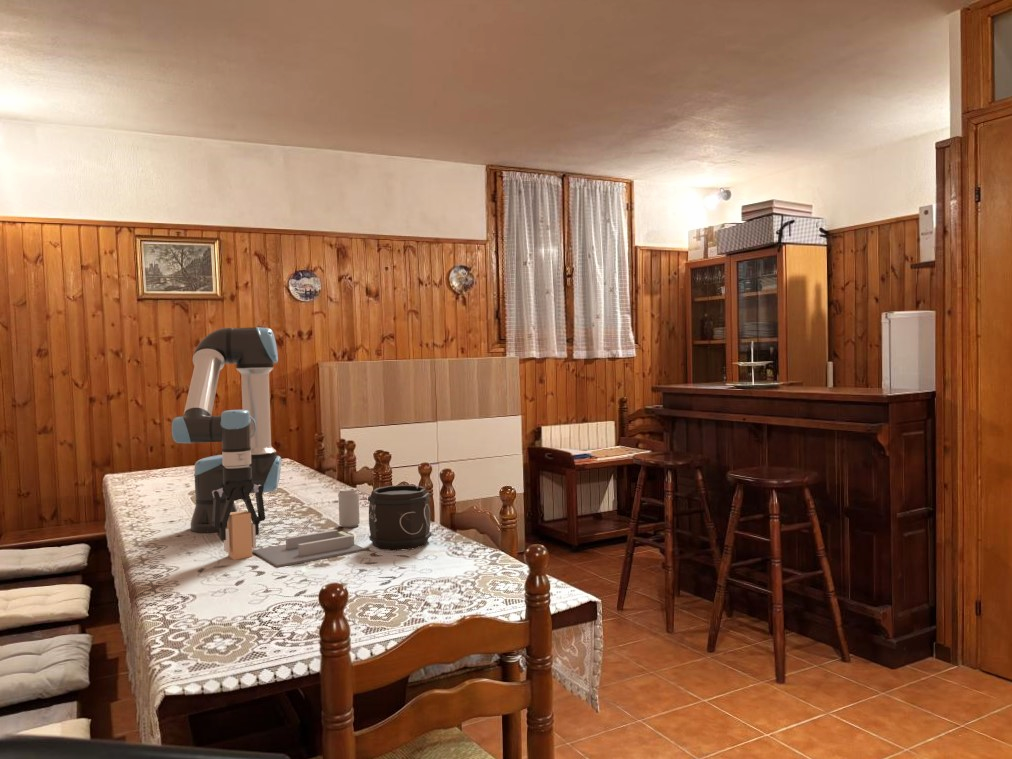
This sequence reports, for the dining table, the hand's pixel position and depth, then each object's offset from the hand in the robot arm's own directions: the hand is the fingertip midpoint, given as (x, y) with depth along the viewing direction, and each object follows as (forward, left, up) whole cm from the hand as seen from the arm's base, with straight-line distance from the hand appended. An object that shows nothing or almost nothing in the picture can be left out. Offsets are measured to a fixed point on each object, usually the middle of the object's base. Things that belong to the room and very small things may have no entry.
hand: (240, 549), depth 209 cm
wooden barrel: (+17, +41, -2) cm, 44 cm away
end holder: (+8, +17, -2) cm, 18 cm away
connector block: (0, 0, -2) cm, 2 cm away
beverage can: (-14, +39, -2) cm, 41 cm away
